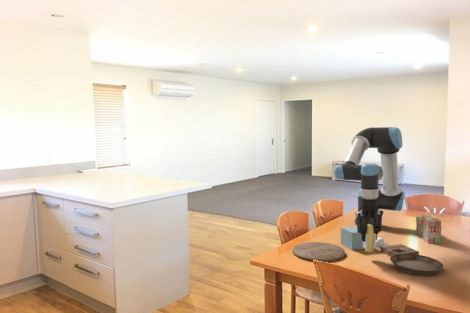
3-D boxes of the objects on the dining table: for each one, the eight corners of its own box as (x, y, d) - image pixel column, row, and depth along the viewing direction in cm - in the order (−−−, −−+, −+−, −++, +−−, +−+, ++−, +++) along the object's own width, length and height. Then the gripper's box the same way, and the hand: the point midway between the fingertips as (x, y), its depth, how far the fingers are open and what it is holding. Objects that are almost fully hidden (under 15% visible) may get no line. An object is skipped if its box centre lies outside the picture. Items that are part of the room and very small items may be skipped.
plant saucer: (426, 259, 171) (426, 252, 171) (454, 277, 151) (454, 269, 150) (382, 260, 170) (382, 253, 170) (404, 278, 150) (404, 270, 150)
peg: (363, 250, 173) (363, 224, 172) (370, 249, 174) (370, 224, 173) (368, 252, 170) (368, 226, 169) (374, 251, 171) (375, 226, 169)
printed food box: (415, 232, 215) (416, 211, 214) (427, 232, 214) (427, 211, 213) (428, 243, 194) (428, 220, 193) (441, 243, 193) (441, 220, 192)
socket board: (380, 251, 182) (380, 246, 182) (401, 248, 185) (401, 244, 185) (396, 259, 171) (396, 254, 171) (418, 256, 174) (418, 251, 174)
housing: (340, 243, 195) (340, 227, 194) (358, 242, 198) (358, 225, 197) (351, 250, 185) (352, 232, 184) (370, 248, 187) (370, 231, 187)
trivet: (283, 249, 188) (283, 246, 188) (323, 243, 198) (323, 239, 198) (311, 266, 165) (311, 262, 165) (356, 257, 175) (356, 253, 175)
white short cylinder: (369, 243, 194) (369, 235, 194) (382, 242, 196) (382, 234, 196) (378, 248, 187) (378, 240, 186) (392, 246, 189) (392, 238, 188)
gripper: (358, 200, 164) (357, 252, 166) (390, 197, 168) (389, 248, 170) (348, 197, 171) (348, 246, 173) (380, 194, 175) (379, 243, 177)
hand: (369, 247), depth 172 cm, fingers closed on peg, 3 cm apart
